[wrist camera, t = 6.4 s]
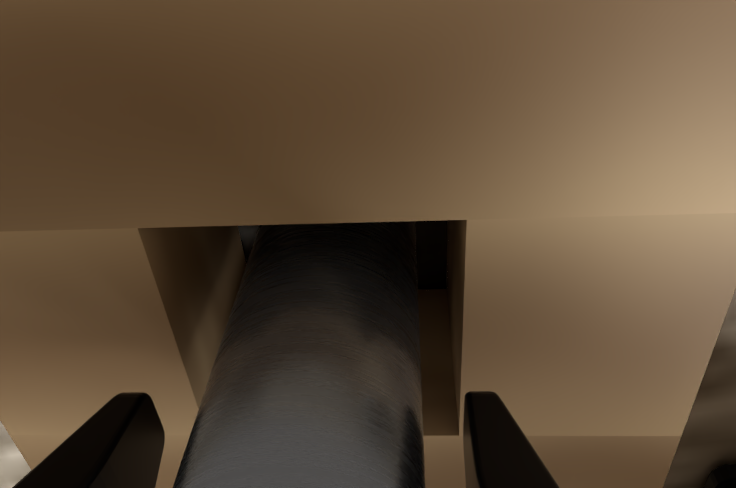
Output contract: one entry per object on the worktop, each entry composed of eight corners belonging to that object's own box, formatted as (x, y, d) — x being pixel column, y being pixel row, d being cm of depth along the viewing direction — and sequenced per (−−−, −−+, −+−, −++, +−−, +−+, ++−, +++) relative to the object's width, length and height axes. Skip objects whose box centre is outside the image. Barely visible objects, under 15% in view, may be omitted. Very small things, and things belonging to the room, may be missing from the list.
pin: (415, 262, 14) (441, 942, 5) (282, 265, 14) (113, 925, 6) (412, 138, 12) (443, 866, 4) (260, 144, 12) (-29, 847, 4)
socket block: (590, 398, 16) (638, 551, 13) (141, 400, 17) (77, 543, 13) (712, -154, 9) (890, -132, 6) (-65, -99, 10) (-300, -54, 7)
